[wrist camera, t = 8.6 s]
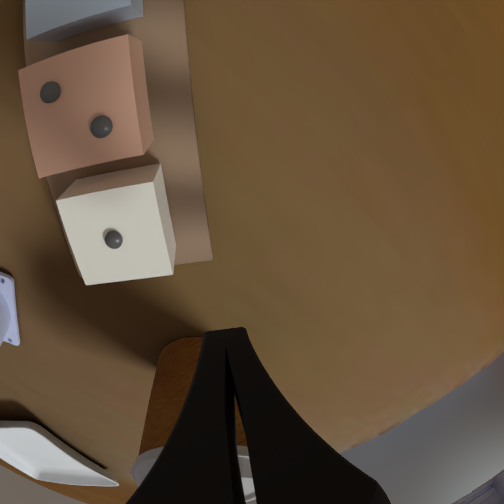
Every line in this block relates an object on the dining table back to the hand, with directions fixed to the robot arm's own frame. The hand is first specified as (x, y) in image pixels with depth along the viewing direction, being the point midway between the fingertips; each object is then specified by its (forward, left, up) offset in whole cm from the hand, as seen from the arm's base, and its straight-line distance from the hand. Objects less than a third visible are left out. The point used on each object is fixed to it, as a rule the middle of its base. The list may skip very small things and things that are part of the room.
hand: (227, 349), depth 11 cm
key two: (-8, +5, -8) cm, 13 cm away
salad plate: (-15, -45, -11) cm, 49 cm away
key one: (-5, -1, -9) cm, 11 cm away
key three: (-11, +11, -9) cm, 18 cm away
